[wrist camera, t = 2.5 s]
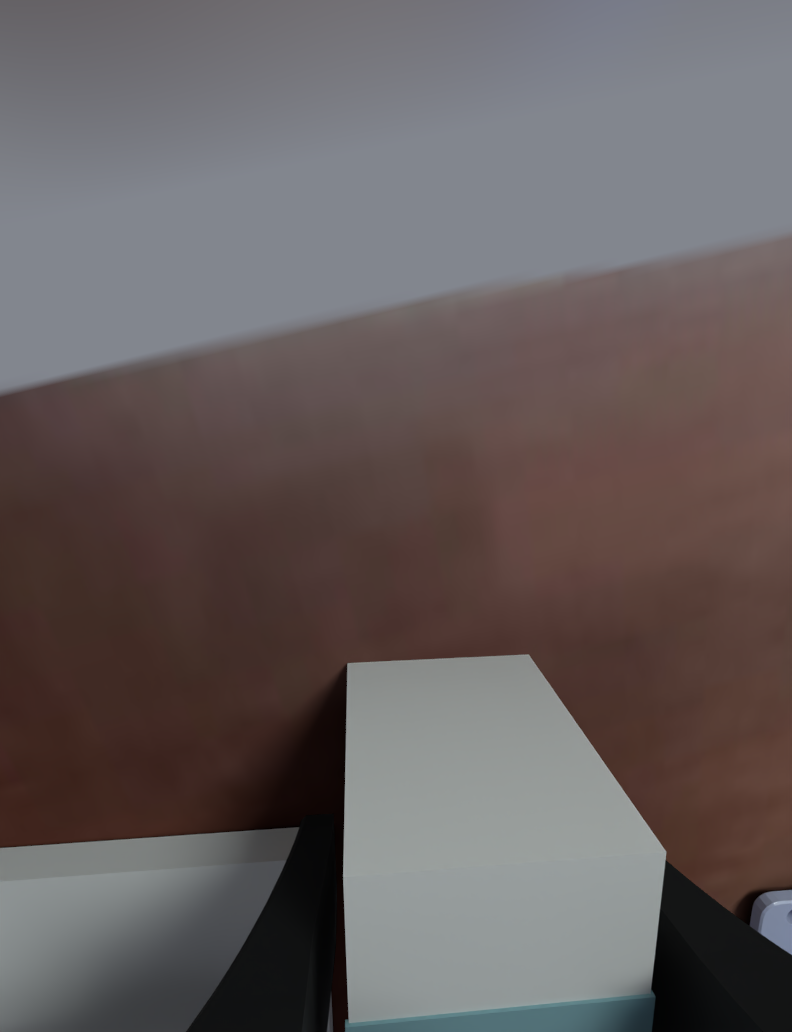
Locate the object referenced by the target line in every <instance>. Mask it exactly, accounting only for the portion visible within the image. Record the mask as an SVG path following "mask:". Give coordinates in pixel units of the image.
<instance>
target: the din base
mask: <svg viewBox="0 0 792 1032" xmlns="http://www.w3.org/2000/svg"><path fill="white" fill-rule="evenodd" d="M298 829H299V827H294V828H280V829H266V830H251V831H237V832H223V833H209V834H195V835H180V836H166V837H152V838H138V839H124V840H109V841H95V842H81V843H67V844H53V845H39V846H24V847H10V848H0V1032H186V1031H187V1029H188V1028H189V1027H190V1025H191V1024H192V1022H193V1021H194V1019H195V1018H196V1017H197V1015H198V1014H199V1012H200V1011H201V1010H202V1008H203V1007H204V1005H205V1004H206V1002H207V1001H208V1000H209V998H210V997H211V995H212V994H213V992H214V991H215V989H216V988H217V986H218V985H219V983H220V982H221V980H222V978H223V977H224V975H225V974H226V972H227V971H228V969H229V967H230V966H231V964H232V963H233V961H234V959H235V958H236V956H237V954H238V953H239V951H240V949H241V948H242V946H243V944H244V943H245V941H246V939H247V937H248V935H249V934H250V932H251V930H252V928H253V926H254V925H255V923H256V921H257V919H258V917H259V916H260V914H261V912H262V910H263V908H264V906H265V904H266V902H267V901H268V899H269V896H270V894H271V892H272V890H273V888H274V886H275V884H276V882H277V880H278V878H279V876H280V874H281V872H282V869H283V867H284V865H285V863H286V860H287V858H288V856H289V853H290V851H291V848H292V846H293V843H294V841H295V838H296V835H297V832H298ZM327 1032H333V1018H332V997H331V998H330V1008H329V1017H328V1027H327Z"/></svg>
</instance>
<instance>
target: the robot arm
mask: <svg viewBox="0 0 792 1032" xmlns="http://www.w3.org/2000/svg"><path fill="white" fill-rule="evenodd" d="M336 912H337V882H336V858H335V834H334V814H320V815H306V816H305V817H304V818H303V819H302V820H301V823H300V826H299V829H298V832H297V835H296V838H295V841H294V843H293V846H292V848H291V851H290V853H289V856H288V858H287V860H286V863H285V865H284V867H283V869H282V872H281V874H280V876H279V878H278V880H277V882H276V884H275V886H274V888H273V890H272V892H271V894H270V896H269V899H268V901H267V902H266V904H265V906H264V908H263V910H262V912H261V914H260V916H259V917H258V919H257V921H256V923H255V925H254V926H253V928H252V930H251V932H250V934H249V935H248V937H247V939H246V941H245V943H244V944H243V946H242V948H241V949H240V951H239V953H238V954H237V956H236V958H235V959H234V961H233V963H232V964H231V966H230V967H229V969H228V971H227V972H226V974H225V975H224V977H223V978H222V980H221V982H220V983H219V985H218V986H217V988H216V989H215V991H214V992H213V994H212V995H211V997H210V998H209V1000H208V1001H207V1002H206V1004H205V1005H204V1007H203V1008H202V1010H201V1011H200V1012H199V1014H198V1015H197V1017H196V1018H195V1019H194V1021H193V1022H192V1024H191V1025H190V1027H189V1028H188V1029H187V1031H186V1032H327V1027H328V1017H329V1008H330V998H331V988H332V978H333V968H334V959H335V948H336ZM651 990H652V991H653V993H654V995H655V997H656V998H655V1007H654V1016H653V1024H652V1032H792V890H782V891H770V892H766V893H763V894H761V895H760V896H758V898H757V899H756V900H755V901H754V904H753V907H752V913H751V920H750V926H749V925H747V924H746V923H745V922H743V921H742V920H740V919H739V918H738V917H736V916H735V915H734V914H732V913H731V912H730V911H728V910H727V909H726V908H724V907H723V906H722V905H720V904H719V903H718V902H717V901H715V900H714V899H713V898H711V897H710V896H709V895H708V894H706V893H705V892H704V891H703V890H701V889H700V888H699V887H697V886H696V885H695V884H694V883H692V882H691V881H690V880H689V879H688V878H686V877H685V876H684V875H683V874H682V873H680V872H679V871H678V870H677V869H676V868H674V867H673V866H672V865H671V864H670V863H668V862H667V861H666V860H665V869H664V878H663V887H662V896H661V905H660V914H659V923H658V932H657V941H656V950H655V959H654V967H653V976H652V985H651Z"/></svg>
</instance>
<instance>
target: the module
mask: <svg viewBox="0 0 792 1032" xmlns="http://www.w3.org/2000/svg"><path fill="white" fill-rule="evenodd" d="M665 860H666V851H665V849H664V848H663V847H662V845H661V844H660V842H659V841H658V839H657V838H656V837H655V835H654V834H653V832H652V831H651V829H650V828H649V826H648V825H647V824H646V822H645V821H644V819H643V818H642V816H641V815H640V814H639V812H638V811H637V809H636V808H635V806H634V805H633V804H632V802H631V801H630V799H629V798H628V796H627V795H626V793H625V792H624V791H623V789H622V788H621V786H620V785H619V783H618V782H617V781H616V779H615V778H614V776H613V775H612V773H611V772H610V771H609V769H608V768H607V766H606V765H605V763H604V762H603V761H602V759H601V758H600V756H599V755H598V753H597V752H596V750H595V749H594V748H593V746H592V745H591V743H590V742H589V740H588V739H587V738H586V736H585V735H584V733H583V732H582V730H581V729H580V728H579V726H578V725H577V723H576V722H575V720H574V719H573V717H572V716H571V715H570V713H569V712H568V710H567V709H566V707H565V706H564V705H563V703H562V702H561V700H560V699H559V697H558V696H557V695H556V693H555V692H554V690H553V689H552V687H551V686H550V684H549V683H548V682H547V680H546V679H545V677H544V676H543V674H542V673H541V672H540V670H539V669H538V667H537V666H536V664H535V663H534V662H533V660H532V659H531V657H530V656H529V655H509V656H488V657H467V658H446V659H426V660H405V661H384V662H363V663H347V709H346V759H345V808H344V858H343V887H344V914H345V940H346V966H347V992H348V1018H349V1019H347V1020H345V1032H652V1024H653V1016H654V1007H655V998H656V997H655V995H654V993H653V991H652V990H651V985H652V976H653V967H654V959H655V950H656V941H657V932H658V923H659V914H660V905H661V896H662V887H663V878H664V869H665Z"/></svg>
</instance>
